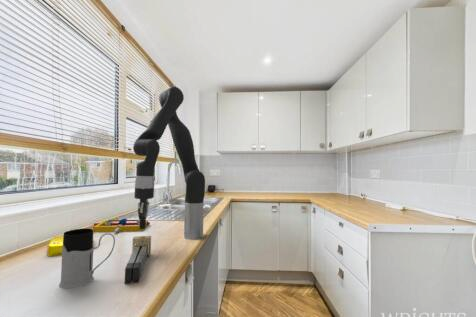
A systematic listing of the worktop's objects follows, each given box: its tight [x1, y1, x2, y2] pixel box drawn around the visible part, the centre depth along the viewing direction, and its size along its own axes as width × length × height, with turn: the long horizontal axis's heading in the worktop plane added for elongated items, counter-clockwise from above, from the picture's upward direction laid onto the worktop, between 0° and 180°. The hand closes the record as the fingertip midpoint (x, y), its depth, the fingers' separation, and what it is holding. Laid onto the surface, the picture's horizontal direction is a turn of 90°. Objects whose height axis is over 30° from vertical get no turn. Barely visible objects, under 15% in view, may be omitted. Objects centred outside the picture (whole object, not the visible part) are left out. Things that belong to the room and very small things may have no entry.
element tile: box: [46, 235, 64, 257], centre depth 101 cm, size 15×15×5 cm
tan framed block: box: [131, 235, 152, 258], centre depth 92 cm, size 3×6×7 cm, turn 105°
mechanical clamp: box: [92, 218, 151, 234], centre depth 130 cm, size 18×6×30 cm
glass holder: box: [58, 228, 116, 290], centre depth 73 cm, size 9×14×15 cm, turn 114°
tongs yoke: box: [135, 243, 149, 258], centre depth 92 cm, size 3×5×5 cm, turn 105°
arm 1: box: [124, 246, 140, 285], centre depth 80 cm, size 20×2×4 cm, turn 16°
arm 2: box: [131, 246, 148, 284], centre depth 81 cm, size 20×2×4 cm, turn 14°
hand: (142, 228), depth 99 cm, fingers closed
